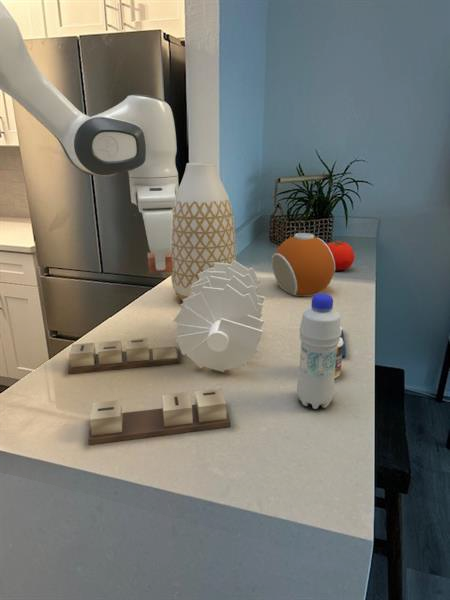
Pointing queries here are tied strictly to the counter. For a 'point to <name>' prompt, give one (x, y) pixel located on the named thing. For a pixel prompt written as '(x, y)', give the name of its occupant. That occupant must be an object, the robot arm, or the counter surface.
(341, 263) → the tomato
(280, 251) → the alarm clock
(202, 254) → the vase
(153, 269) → the s tile
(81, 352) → the back rack
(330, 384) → the bottle
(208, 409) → the front rack
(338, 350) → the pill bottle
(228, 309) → the spiral staircase
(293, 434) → the counter surface
